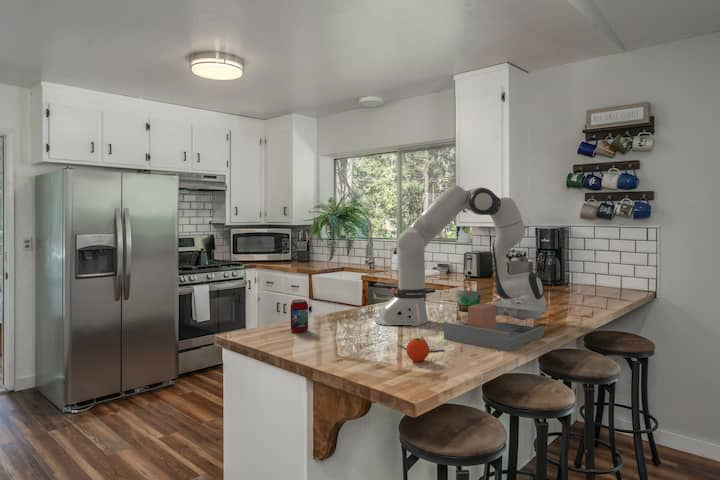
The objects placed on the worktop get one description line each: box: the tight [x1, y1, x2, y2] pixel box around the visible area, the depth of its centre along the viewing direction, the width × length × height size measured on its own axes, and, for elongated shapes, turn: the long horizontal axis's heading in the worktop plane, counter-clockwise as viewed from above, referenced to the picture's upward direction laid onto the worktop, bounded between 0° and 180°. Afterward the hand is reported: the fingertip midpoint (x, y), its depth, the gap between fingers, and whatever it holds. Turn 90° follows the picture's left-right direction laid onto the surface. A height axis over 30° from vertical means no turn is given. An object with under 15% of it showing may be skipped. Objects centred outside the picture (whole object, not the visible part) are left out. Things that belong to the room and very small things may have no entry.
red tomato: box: [405, 337, 430, 362], centre depth 149 cm, size 8×7×7 cm
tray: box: [443, 321, 545, 352], centre depth 178 cm, size 29×25×6 cm
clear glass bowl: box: [397, 335, 446, 353], centre depth 164 cm, size 12×12×5 cm
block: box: [467, 302, 497, 330], centre depth 174 cm, size 10×6×10 cm, turn 137°
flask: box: [508, 256, 534, 275], centre depth 295 cm, size 15×6×20 cm, turn 41°
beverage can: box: [290, 298, 309, 334], centre depth 188 cm, size 7×7×12 cm
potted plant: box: [455, 289, 483, 313], centre depth 228 cm, size 12×6×10 cm, turn 68°
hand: (505, 313), depth 184 cm, fingers closed
